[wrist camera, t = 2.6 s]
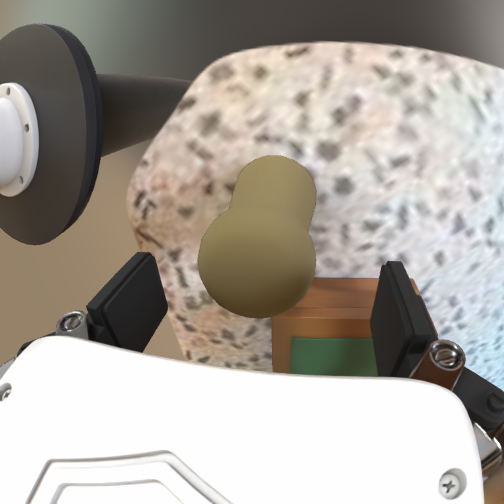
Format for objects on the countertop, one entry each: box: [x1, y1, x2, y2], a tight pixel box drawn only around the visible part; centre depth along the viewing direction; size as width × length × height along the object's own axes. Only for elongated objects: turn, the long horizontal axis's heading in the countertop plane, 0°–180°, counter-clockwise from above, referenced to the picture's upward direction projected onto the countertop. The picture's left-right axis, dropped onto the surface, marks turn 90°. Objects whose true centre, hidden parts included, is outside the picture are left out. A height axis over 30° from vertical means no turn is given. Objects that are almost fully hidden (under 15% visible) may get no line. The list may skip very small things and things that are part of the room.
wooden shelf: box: [271, 278, 438, 377], centre depth 25 cm, size 12×22×7 cm, turn 3°
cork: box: [197, 156, 316, 318], centre depth 16 cm, size 6×6×11 cm
